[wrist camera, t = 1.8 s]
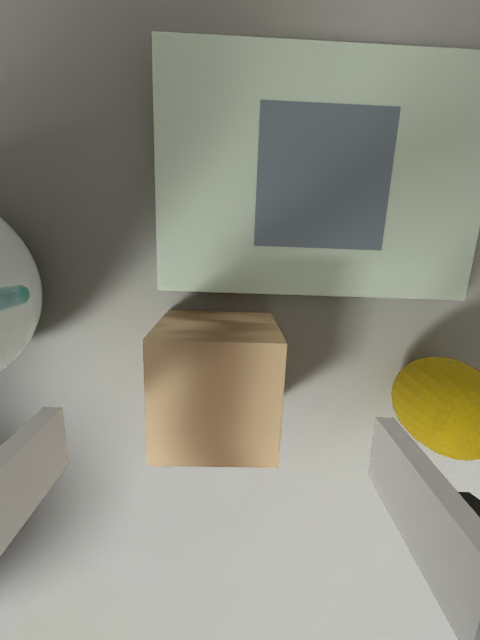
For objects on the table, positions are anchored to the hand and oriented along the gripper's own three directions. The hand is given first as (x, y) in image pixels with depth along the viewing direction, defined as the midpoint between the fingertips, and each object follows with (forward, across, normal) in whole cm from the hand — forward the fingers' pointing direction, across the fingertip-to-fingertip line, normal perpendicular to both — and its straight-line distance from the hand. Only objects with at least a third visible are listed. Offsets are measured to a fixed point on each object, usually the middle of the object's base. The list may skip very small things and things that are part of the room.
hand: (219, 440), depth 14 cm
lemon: (+10, +13, -1) cm, 17 cm away
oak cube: (+10, 0, 0) cm, 10 cm away
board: (+10, +6, +12) cm, 16 cm away
